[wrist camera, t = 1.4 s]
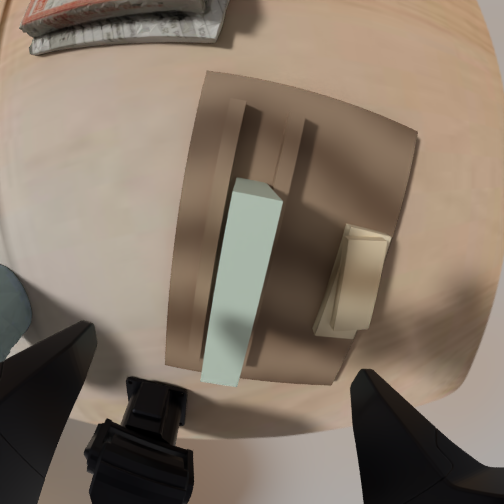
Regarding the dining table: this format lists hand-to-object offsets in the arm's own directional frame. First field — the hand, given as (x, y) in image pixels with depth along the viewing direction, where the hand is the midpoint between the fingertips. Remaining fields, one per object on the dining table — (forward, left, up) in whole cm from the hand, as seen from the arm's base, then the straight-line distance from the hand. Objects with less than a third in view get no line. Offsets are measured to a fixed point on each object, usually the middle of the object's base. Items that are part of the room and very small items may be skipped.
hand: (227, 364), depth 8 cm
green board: (0, 0, -12) cm, 12 cm away
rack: (0, -4, -13) cm, 14 cm away
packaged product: (+19, +13, -14) cm, 27 cm away
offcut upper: (-1, -9, -11) cm, 15 cm away
